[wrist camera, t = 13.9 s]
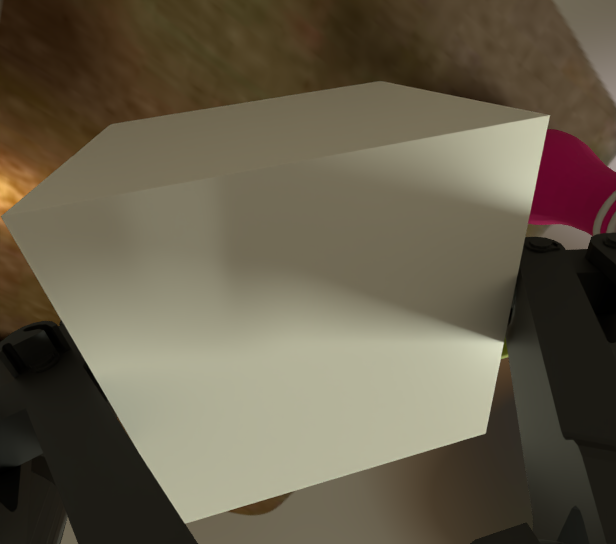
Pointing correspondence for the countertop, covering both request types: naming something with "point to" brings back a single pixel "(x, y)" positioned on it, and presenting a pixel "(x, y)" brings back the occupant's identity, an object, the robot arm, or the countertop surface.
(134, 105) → the countertop surface
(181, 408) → the cream cuboid
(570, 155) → the pepper mill
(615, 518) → the robot arm
